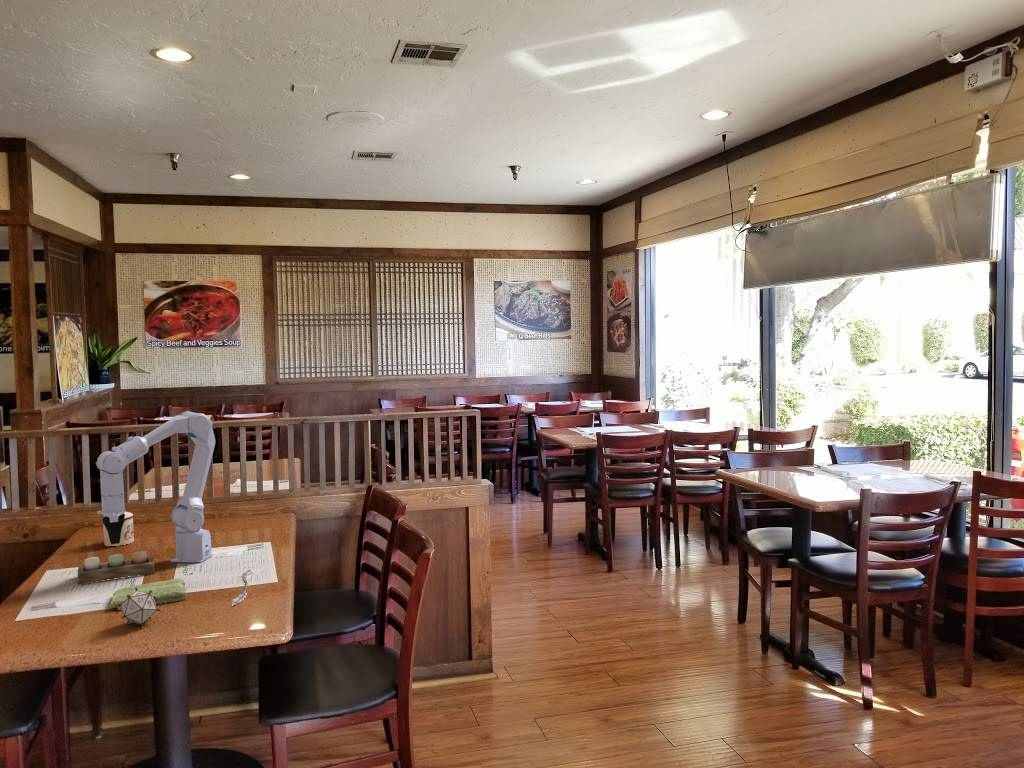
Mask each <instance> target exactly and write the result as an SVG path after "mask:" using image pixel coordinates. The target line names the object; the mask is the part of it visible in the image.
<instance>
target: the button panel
mask: <svg viewBox="0 0 1024 768" xmlns="http://www.w3.org/2000/svg"><path fill="white" fill-rule="evenodd" d="M123 563H124V564H123V565H120V566H114V567H112V566H109V561H106V562H99V565H100V567H99V568H97V569H93V570H86V569H85V564H83V565H78V567H77V584H79V585H85V584H84V583H86V584H92V583H91V582H93V583H97V582H96V581H100V582H103V581H102V580H107V579H114V578H121V577H128V576H135V577H138V576H137V575H142V576H148V575H147V574H149V575H153V574H156V573H155V561H154V556H153V555H151V556H150V555H149V556H147V561H146V562H143V563H133V558H126V559H123ZM145 574H146V575H145ZM128 578H129V577H128ZM121 579H122V578H121ZM114 580H115V579H114ZM107 581H108V580H107Z"/></svg>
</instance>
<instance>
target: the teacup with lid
mask: <svg viewBox="0 0 1024 768" xmlns="http://www.w3.org/2000/svg"><path fill="white" fill-rule="evenodd" d="M124 514H125V517H124V518H125V522H124V524H123V526H122V530H121V538H120V543H119V544H111V543H110V539H109V535H108V532H107V529H106V527H105V525H104V524H103V523H102V524H103V525H102V527H103V543H104V546H105V547H109V546H116V547H121V546H120V545H124V546H127V545H126V544H128V545H130V543H131V544H132V543H133V542H134V541H135V537H134V536H135V535H134V534H135V533H134V532H135V531H134V514H133V513H132V512H129V511H126V512H124ZM103 517H104V515H102V518H101V520H102V521H103Z"/></svg>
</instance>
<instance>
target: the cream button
mask: <svg viewBox="0 0 1024 768" xmlns="http://www.w3.org/2000/svg"><path fill="white" fill-rule="evenodd" d="M99 563H100V557H97V556H92V557H87V558H85V559H84V565H85V569H86V570H93V569H97V568H99V567H100V565H99Z"/></svg>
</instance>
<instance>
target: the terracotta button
mask: <svg viewBox="0 0 1024 768" xmlns="http://www.w3.org/2000/svg"><path fill="white" fill-rule="evenodd" d="M147 554H148V553H147V551H146V550H138V551H135V552H132V559H133V563H143V562H146V561H147V557H148V556H147Z"/></svg>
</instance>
